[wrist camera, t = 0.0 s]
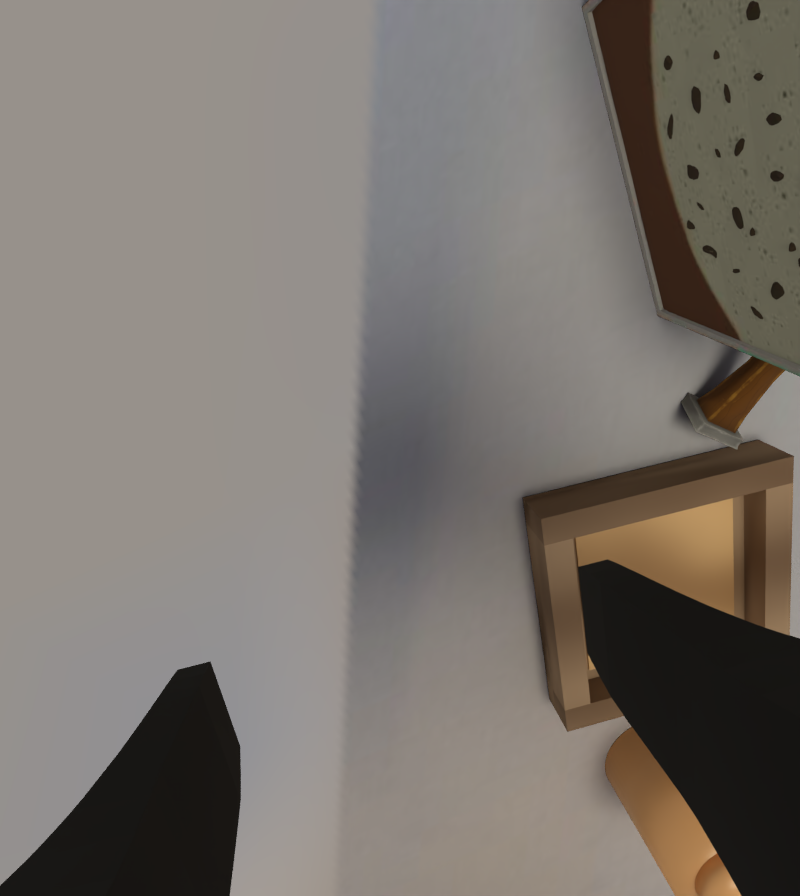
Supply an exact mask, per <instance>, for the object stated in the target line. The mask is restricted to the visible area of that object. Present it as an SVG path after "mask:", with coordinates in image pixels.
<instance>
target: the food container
mask: <svg viewBox="0 0 800 896" xmlns="http://www.w3.org/2000/svg"><path fill="white" fill-rule="evenodd" d="M582 10H583V14H584V18H585V22H586V26H587V30H588V34H589V38H590V42H591V46H592V51H593V55H594V59H595V63H596V67H597V71H598V75H599V79H600V83H601V87H602V91H603V95H604V99H605V103H606V108H607V112H608V116H609V120H610V124H611V128H612V132H613V136H614V140H615V144H616V148H617V152H618V156H619V160H620V165H621V169H622V173H623V177H624V181H625V185H626V189H627V193H628V197H629V201H630V205H631V209H632V213H633V217H634V222H635V226H636V230H637V234H638V238H639V242H640V246H641V250H642V254H643V258H644V262H645V266H646V270H647V274H648V278H649V283H650V287H651V291H652V295H653V299H654V303H655V307H656V311H657V315H658V316H659V317H662V318H664V319H666V320H669V321H671V322H674V323H676V324H678V325H681V326H683V327H685V328H688V329H690V330H692V331H695V332H697V333H699V334H702V335H704V336H706V337H709V338H711V339H713V340H716V341H718V342H720V343H723V344H725V345H727V346H730V347H732V348H734V349H737V350H739V351H741V352H744V353H746V354H749V355H751V356H753V357H756V358H758V359H760V360H763V361H765V362H767V363H770V364H772V365H774V366H777V367H779V368H781V369H784V370H786V371H788V372H791V373H793V374H795V375H798V376H800V0H588V1H587V3H586V4H585V5H584V6H583V7H582Z"/></svg>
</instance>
